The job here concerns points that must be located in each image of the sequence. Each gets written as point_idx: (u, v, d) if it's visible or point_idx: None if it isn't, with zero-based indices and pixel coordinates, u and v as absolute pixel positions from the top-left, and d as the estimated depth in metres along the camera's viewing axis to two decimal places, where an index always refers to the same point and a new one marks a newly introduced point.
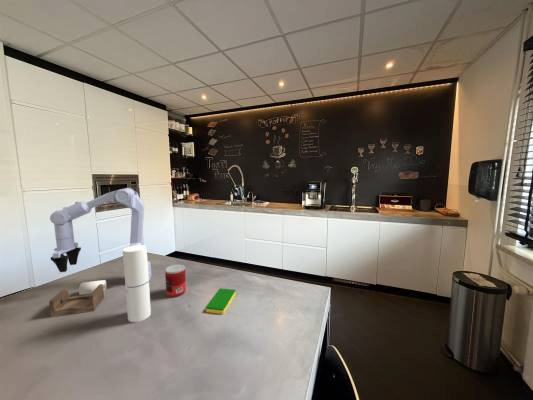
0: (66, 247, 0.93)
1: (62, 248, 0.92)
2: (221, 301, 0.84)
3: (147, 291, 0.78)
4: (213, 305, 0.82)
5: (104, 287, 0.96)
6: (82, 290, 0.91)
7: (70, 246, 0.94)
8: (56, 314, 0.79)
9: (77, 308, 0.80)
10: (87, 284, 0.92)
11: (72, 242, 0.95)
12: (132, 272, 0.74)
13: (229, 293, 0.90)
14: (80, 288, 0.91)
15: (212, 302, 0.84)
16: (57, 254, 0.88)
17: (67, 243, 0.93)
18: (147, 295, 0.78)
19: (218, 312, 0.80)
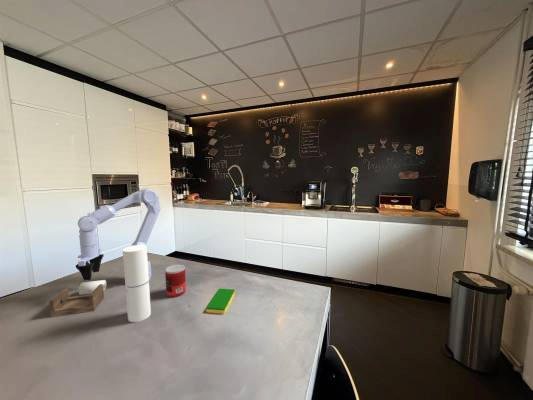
0: (91, 254, 0.91)
1: (87, 255, 0.90)
2: (221, 301, 0.84)
3: (147, 291, 0.78)
4: (214, 305, 0.82)
5: (104, 287, 0.96)
6: (82, 290, 0.91)
7: (94, 253, 0.92)
8: (56, 314, 0.79)
9: (77, 308, 0.80)
10: (87, 284, 0.93)
11: (96, 249, 0.93)
12: (132, 272, 0.74)
13: (229, 293, 0.90)
14: (80, 288, 0.91)
15: (212, 302, 0.84)
16: (83, 262, 0.86)
17: (92, 250, 0.91)
18: (147, 295, 0.78)
19: (219, 312, 0.80)
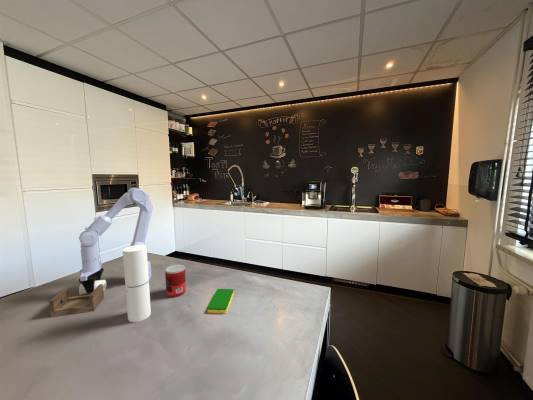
0: (92, 269, 0.91)
1: (88, 270, 0.91)
2: (222, 301, 0.85)
3: (147, 291, 0.78)
4: (215, 305, 0.82)
5: (104, 287, 0.96)
6: (82, 290, 0.91)
7: (96, 268, 0.92)
8: (56, 314, 0.79)
9: (77, 308, 0.80)
10: None
11: (97, 263, 0.93)
12: (132, 272, 0.74)
13: (228, 293, 0.90)
14: (80, 288, 0.91)
15: (213, 303, 0.83)
16: (84, 277, 0.87)
17: (93, 265, 0.91)
18: (147, 295, 0.78)
19: (221, 312, 0.80)
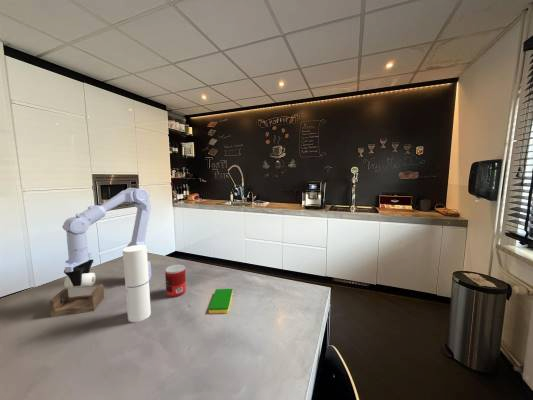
0: (79, 259, 0.83)
1: (75, 260, 0.82)
2: (223, 301, 0.85)
3: (147, 291, 0.78)
4: (216, 305, 0.82)
5: (93, 280, 0.88)
6: (68, 283, 0.83)
7: (83, 258, 0.84)
8: (56, 314, 0.79)
9: (77, 308, 0.80)
10: None
11: (86, 253, 0.85)
12: (132, 272, 0.74)
13: (227, 292, 0.91)
14: (66, 281, 0.83)
15: (214, 303, 0.83)
16: (70, 268, 0.78)
17: (80, 255, 0.83)
18: (147, 295, 0.78)
19: (222, 312, 0.80)
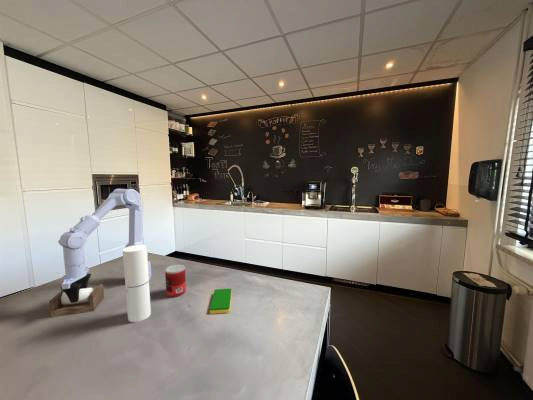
0: (76, 275, 0.81)
1: (72, 276, 0.80)
2: (223, 301, 0.85)
3: (147, 291, 0.78)
4: (217, 306, 0.82)
5: None
6: (65, 300, 0.81)
7: (81, 273, 0.82)
8: (56, 314, 0.79)
9: (77, 308, 0.80)
10: None
11: (83, 268, 0.83)
12: (132, 272, 0.74)
13: (227, 292, 0.91)
14: (62, 297, 0.81)
15: (214, 303, 0.83)
16: (67, 285, 0.76)
17: (78, 270, 0.81)
18: (147, 295, 0.78)
19: (224, 311, 0.81)
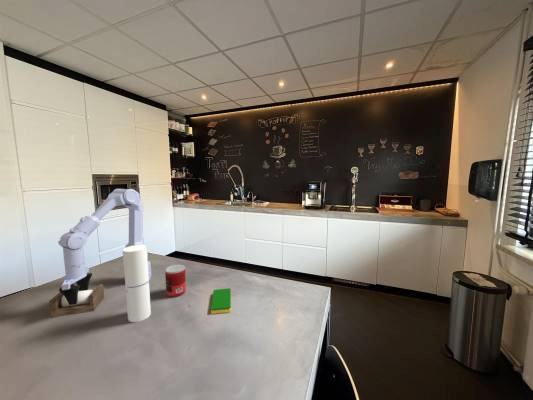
0: (76, 275, 0.81)
1: (72, 277, 0.80)
2: (223, 301, 0.85)
3: (147, 291, 0.78)
4: (218, 306, 0.82)
5: None
6: (65, 302, 0.81)
7: (81, 274, 0.82)
8: (56, 314, 0.79)
9: (77, 308, 0.80)
10: None
11: (83, 269, 0.83)
12: (132, 272, 0.74)
13: (226, 292, 0.91)
14: (63, 300, 0.81)
15: (215, 303, 0.83)
16: (67, 285, 0.76)
17: (78, 271, 0.81)
18: (147, 295, 0.78)
19: (225, 311, 0.81)
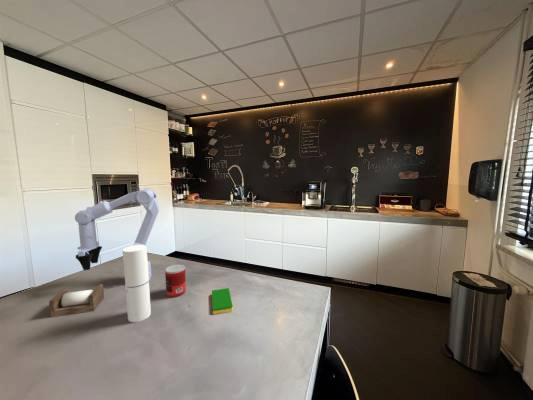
0: (89, 246, 0.96)
1: (86, 247, 0.95)
2: (224, 300, 0.85)
3: (147, 291, 0.78)
4: (219, 306, 0.82)
5: None
6: (65, 302, 0.81)
7: (93, 245, 0.97)
8: (56, 314, 0.79)
9: (77, 308, 0.80)
10: (71, 295, 0.82)
11: (95, 241, 0.98)
12: (132, 272, 0.74)
13: (225, 292, 0.91)
14: (63, 300, 0.81)
15: (216, 303, 0.83)
16: (82, 252, 0.91)
17: (90, 242, 0.96)
18: (147, 295, 0.78)
19: (227, 311, 0.81)
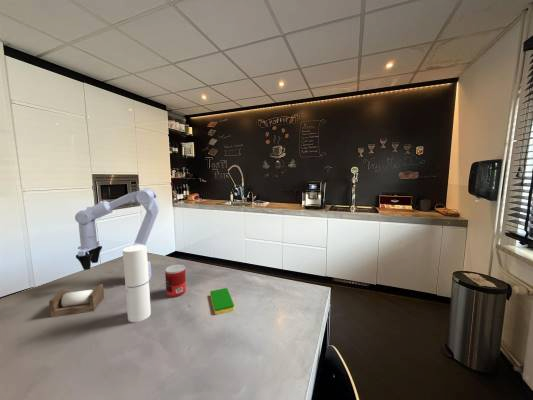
0: (90, 246, 0.96)
1: (86, 246, 0.96)
2: (225, 300, 0.85)
3: (147, 291, 0.78)
4: (221, 305, 0.82)
5: None
6: (65, 302, 0.81)
7: (93, 245, 0.97)
8: (56, 314, 0.79)
9: (77, 308, 0.80)
10: (71, 295, 0.82)
11: (95, 241, 0.98)
12: (132, 272, 0.74)
13: (225, 292, 0.91)
14: (63, 300, 0.81)
15: (217, 304, 0.83)
16: (82, 252, 0.92)
17: (91, 242, 0.96)
18: (147, 295, 0.78)
19: (229, 310, 0.81)
